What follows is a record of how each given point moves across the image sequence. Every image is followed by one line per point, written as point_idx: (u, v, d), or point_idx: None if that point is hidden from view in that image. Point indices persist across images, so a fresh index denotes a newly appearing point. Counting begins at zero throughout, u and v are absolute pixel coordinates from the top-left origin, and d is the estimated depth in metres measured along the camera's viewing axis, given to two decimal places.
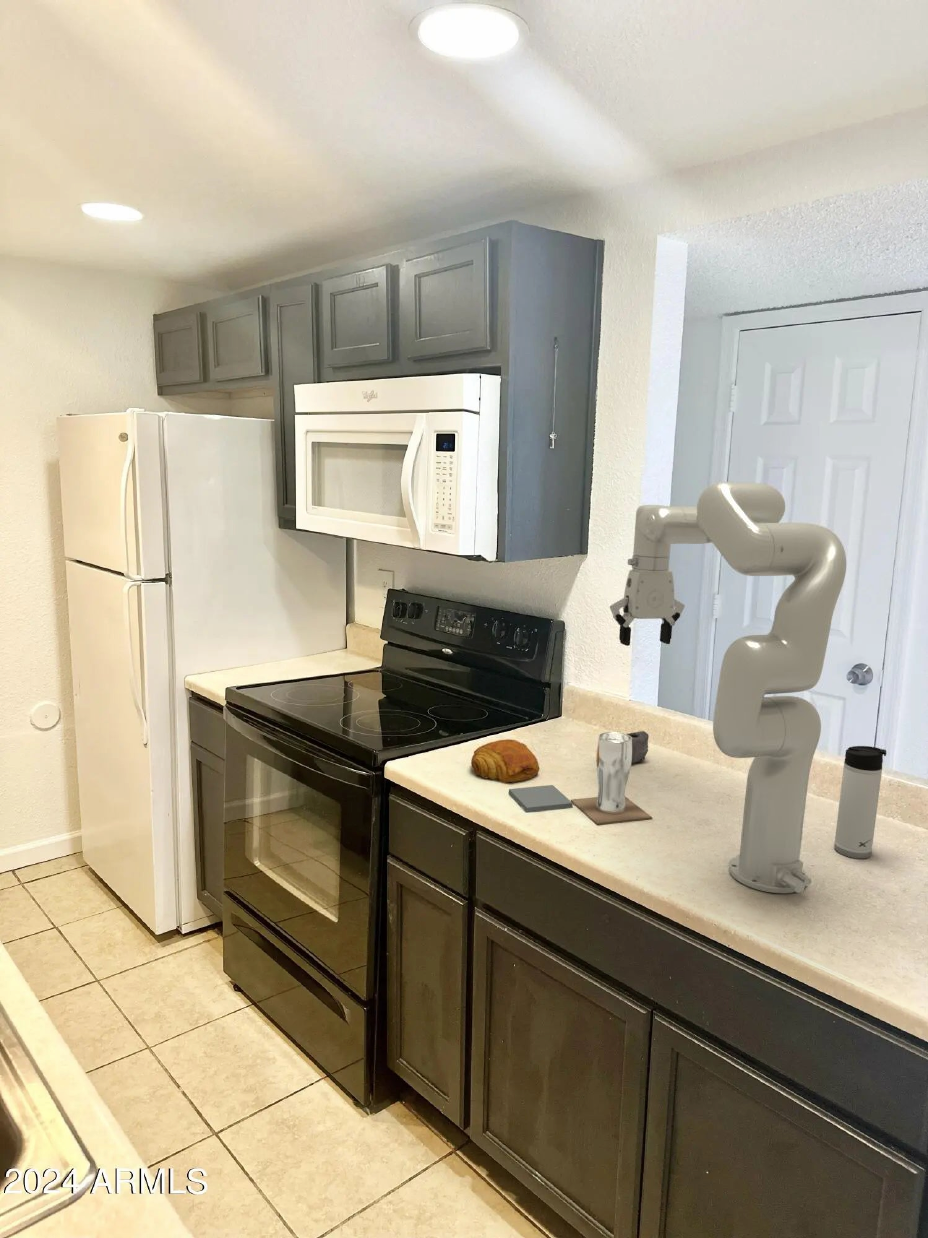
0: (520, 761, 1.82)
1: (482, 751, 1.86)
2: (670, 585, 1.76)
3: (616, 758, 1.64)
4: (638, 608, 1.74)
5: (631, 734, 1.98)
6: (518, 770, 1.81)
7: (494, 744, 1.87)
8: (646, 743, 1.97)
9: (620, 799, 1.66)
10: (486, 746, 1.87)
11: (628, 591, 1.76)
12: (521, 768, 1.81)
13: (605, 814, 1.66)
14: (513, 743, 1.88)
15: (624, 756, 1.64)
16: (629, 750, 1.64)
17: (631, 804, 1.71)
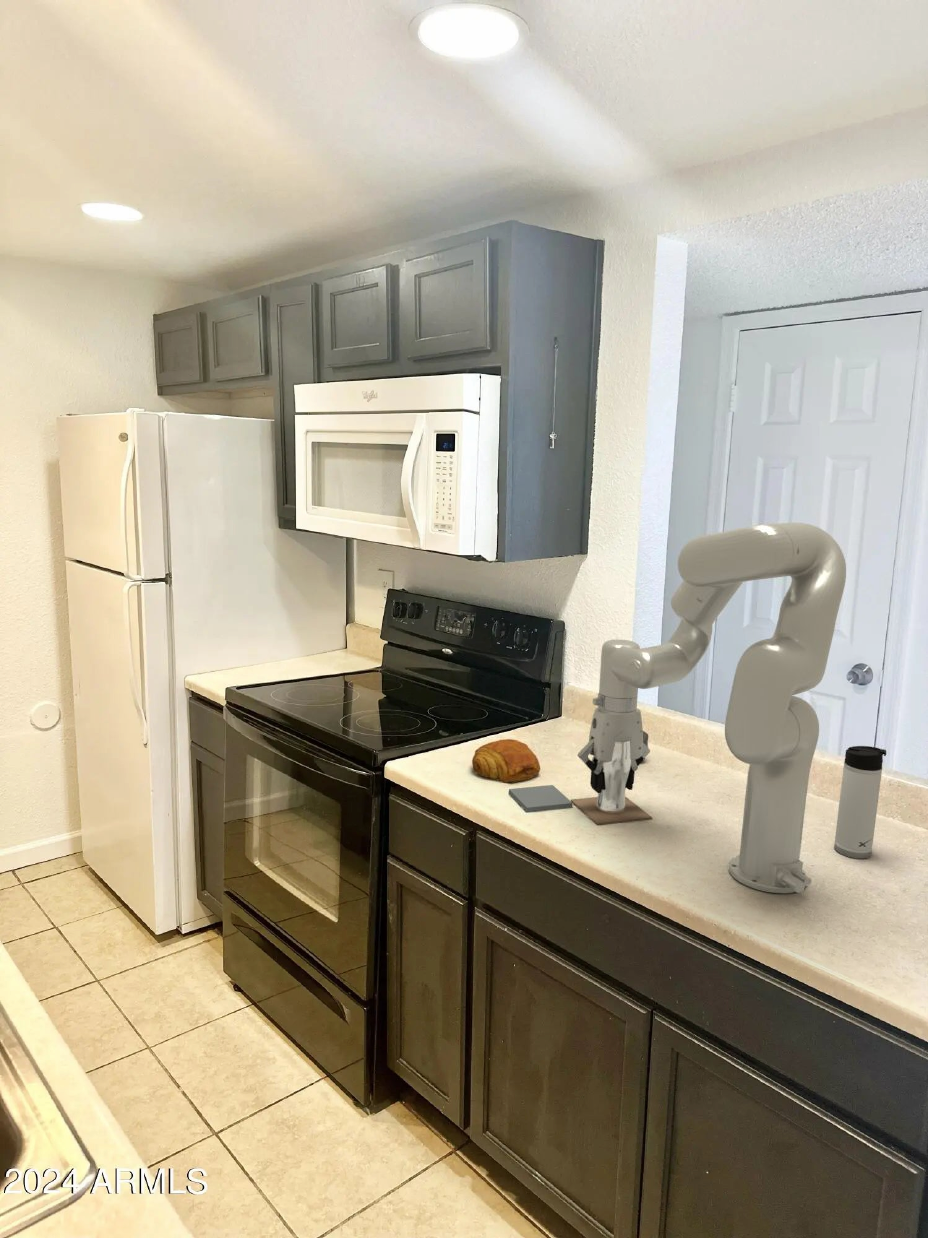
0: (521, 761, 1.82)
1: (483, 751, 1.87)
2: (638, 725, 1.64)
3: (616, 758, 1.64)
4: (604, 751, 1.63)
5: None
6: (519, 770, 1.81)
7: (495, 744, 1.87)
8: (646, 743, 1.97)
9: (620, 799, 1.66)
10: (487, 746, 1.87)
11: (593, 732, 1.64)
12: (522, 768, 1.82)
13: (605, 814, 1.66)
14: (514, 743, 1.88)
15: (624, 756, 1.64)
16: (629, 750, 1.64)
17: (631, 804, 1.71)
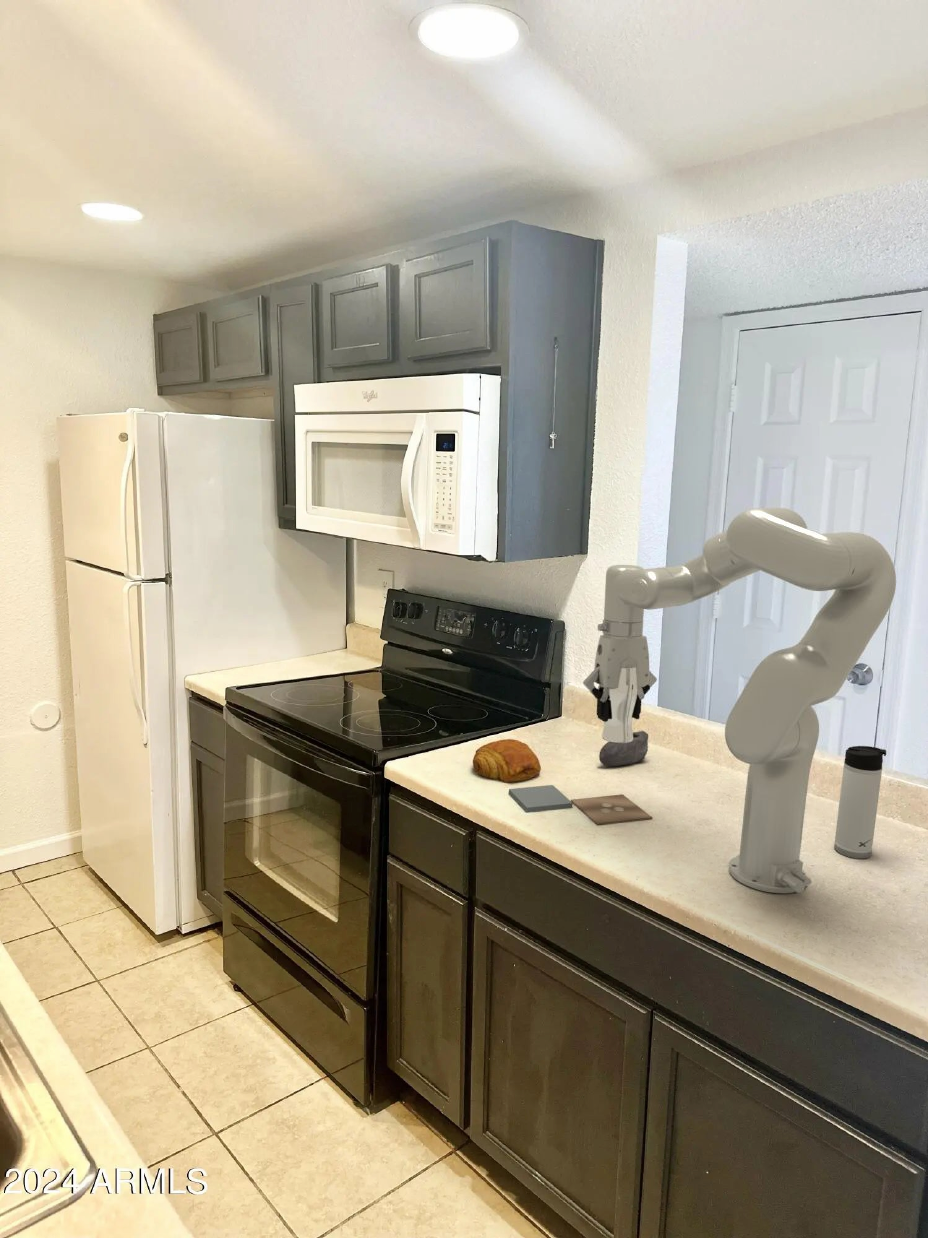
0: (521, 761, 1.83)
1: (483, 751, 1.87)
2: (644, 651, 1.61)
3: (622, 685, 1.61)
4: (610, 678, 1.60)
5: None
6: (519, 770, 1.81)
7: (495, 744, 1.87)
8: (646, 743, 1.97)
9: (627, 728, 1.63)
10: (487, 746, 1.87)
11: (599, 659, 1.61)
12: (522, 768, 1.82)
13: (605, 814, 1.66)
14: (515, 743, 1.88)
15: (631, 682, 1.61)
16: (636, 677, 1.62)
17: (631, 804, 1.71)
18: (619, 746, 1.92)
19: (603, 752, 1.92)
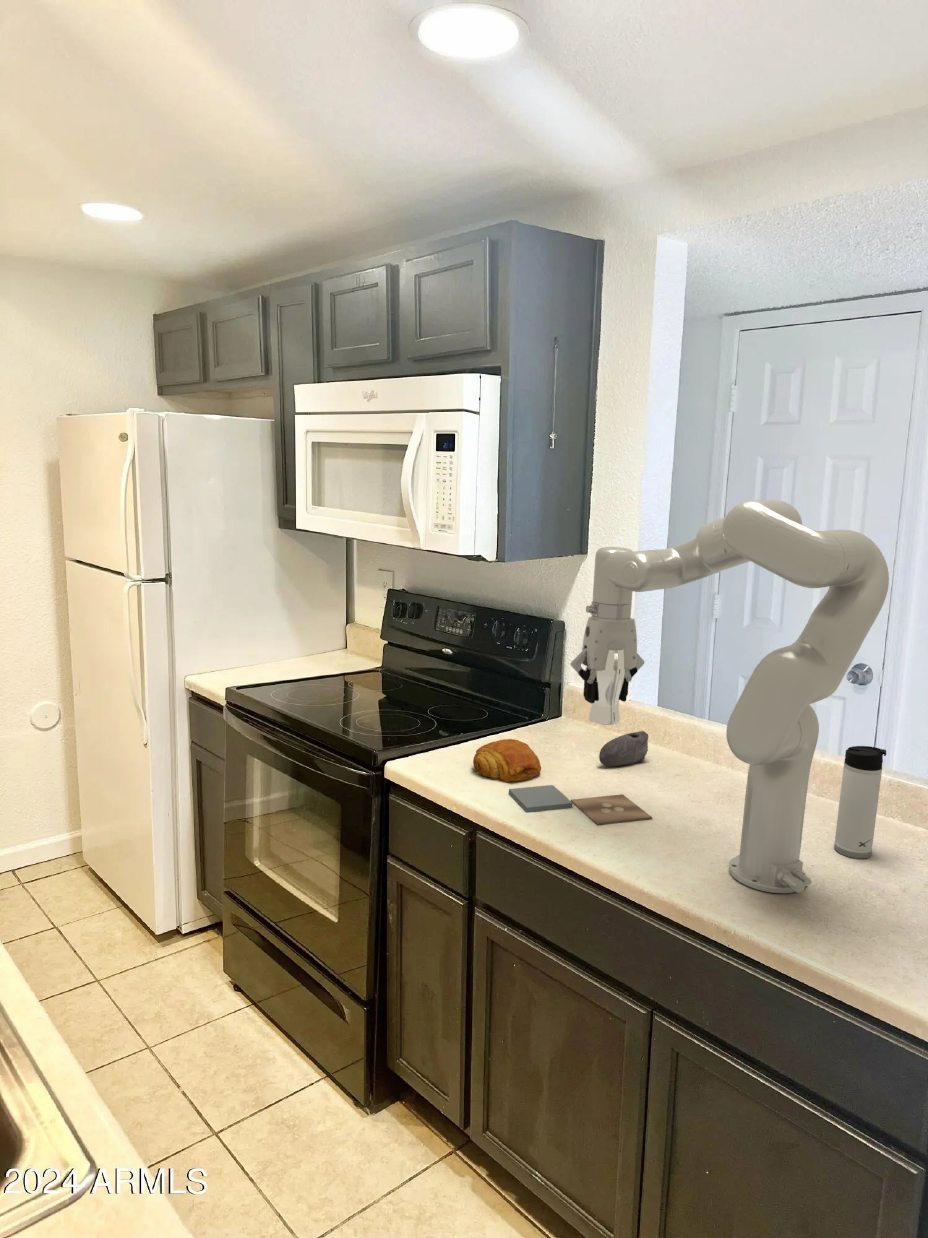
0: (522, 761, 1.83)
1: (484, 750, 1.87)
2: (632, 634, 1.62)
3: (609, 667, 1.61)
4: (597, 659, 1.60)
5: (631, 734, 1.98)
6: (519, 770, 1.81)
7: (496, 744, 1.87)
8: (646, 743, 1.97)
9: (613, 710, 1.64)
10: (488, 745, 1.87)
11: (586, 641, 1.62)
12: (522, 768, 1.82)
13: (605, 814, 1.66)
14: (515, 743, 1.88)
15: (618, 665, 1.61)
16: (623, 659, 1.62)
17: (631, 804, 1.71)
18: (619, 746, 1.92)
19: (603, 752, 1.92)
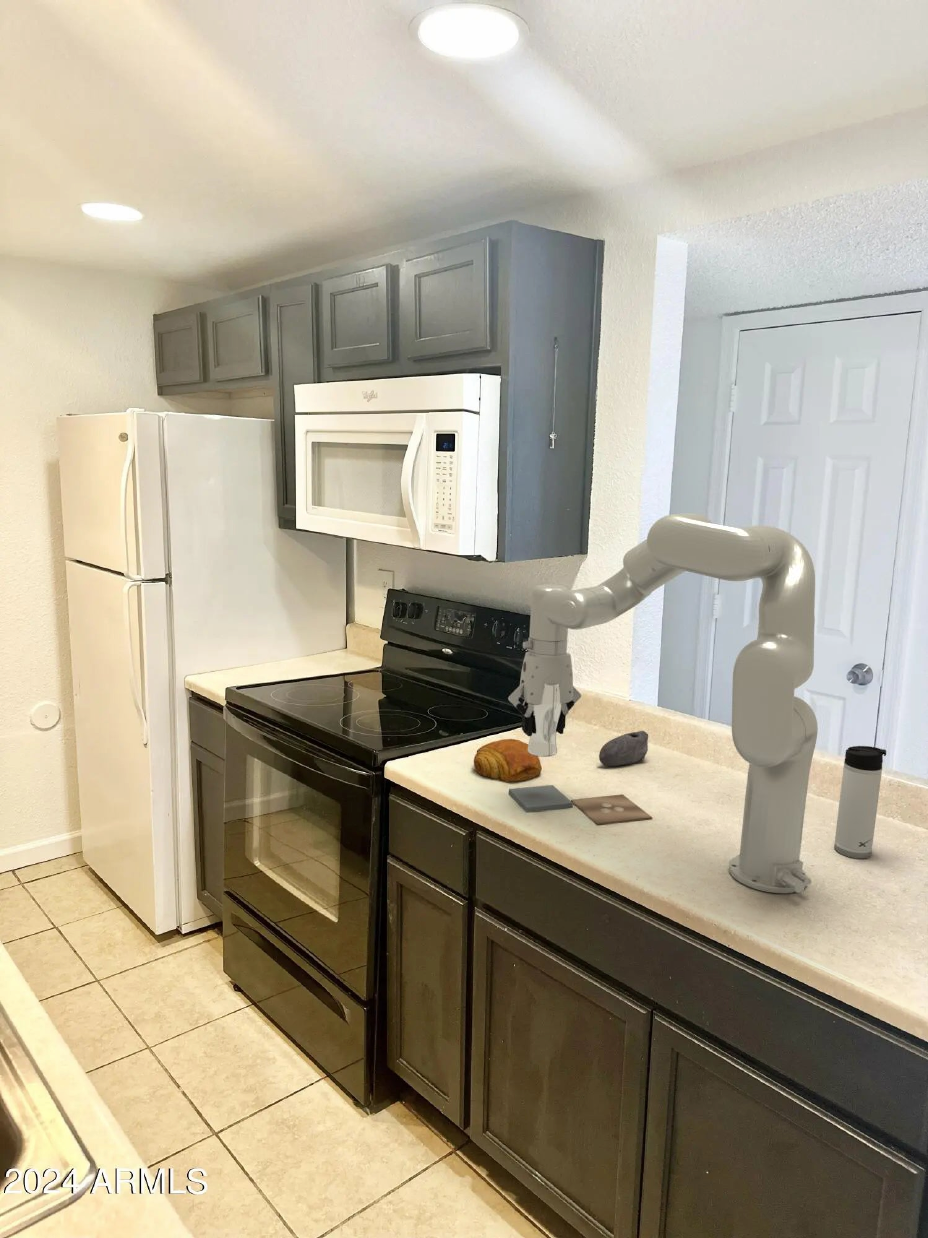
0: (522, 760, 1.83)
1: (484, 750, 1.87)
2: (568, 669, 1.66)
3: (545, 701, 1.66)
4: (533, 694, 1.65)
5: (631, 734, 1.97)
6: (520, 769, 1.81)
7: (497, 743, 1.87)
8: (646, 743, 1.97)
9: (550, 742, 1.68)
10: (488, 745, 1.87)
11: (523, 675, 1.66)
12: (523, 767, 1.82)
13: (605, 814, 1.66)
14: (516, 743, 1.88)
15: (554, 699, 1.66)
16: (559, 693, 1.66)
17: (631, 804, 1.71)
18: (619, 746, 1.92)
19: (603, 752, 1.92)
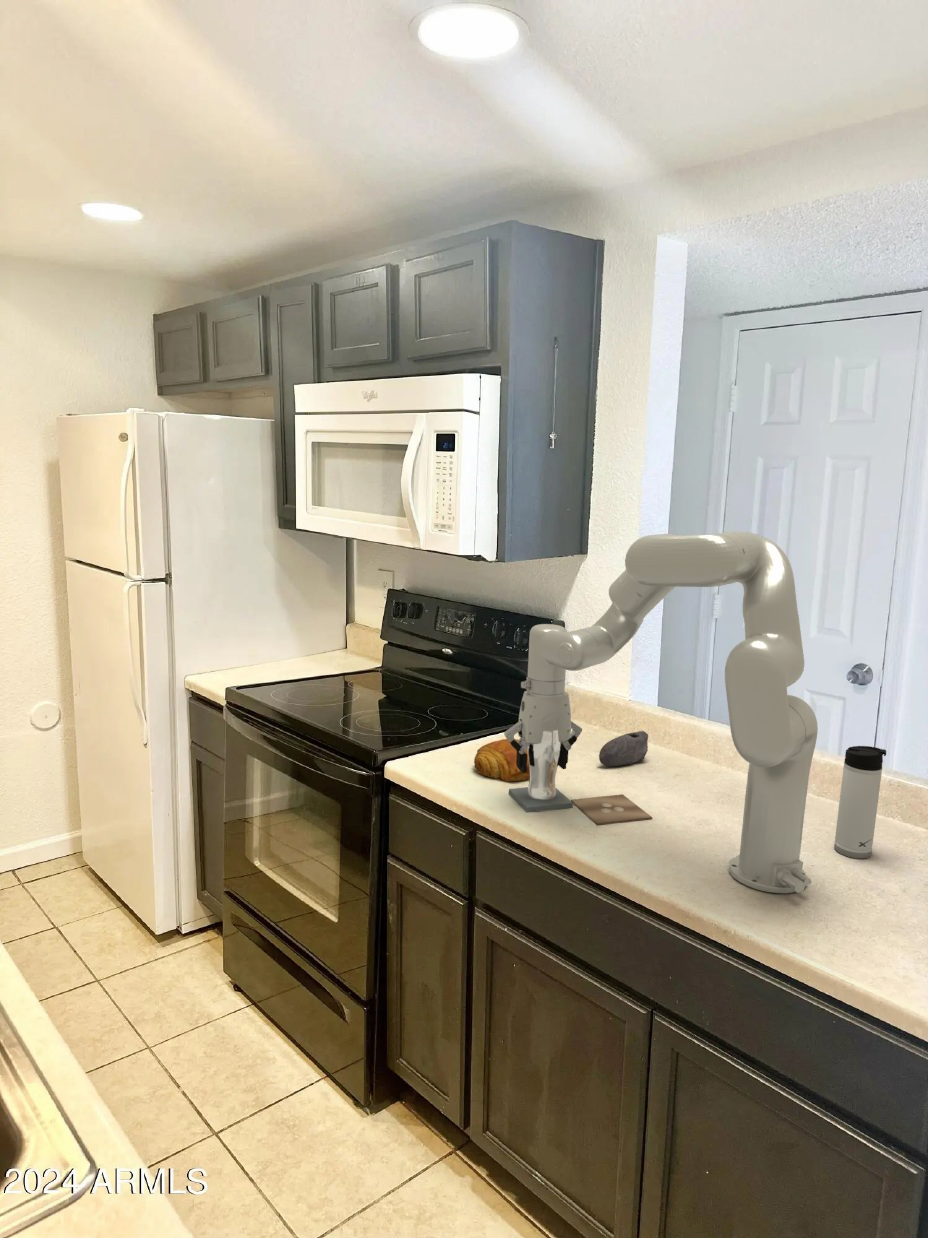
0: None
1: (485, 750, 1.87)
2: (566, 708, 1.68)
3: (544, 747, 1.67)
4: (531, 734, 1.66)
5: (631, 734, 1.97)
6: None
7: (497, 743, 1.87)
8: (646, 743, 1.97)
9: (550, 786, 1.70)
10: (489, 745, 1.87)
11: (522, 715, 1.68)
12: None
13: (605, 814, 1.66)
14: None
15: (552, 744, 1.67)
16: (557, 738, 1.68)
17: (631, 804, 1.71)
18: (619, 746, 1.92)
19: (603, 752, 1.92)
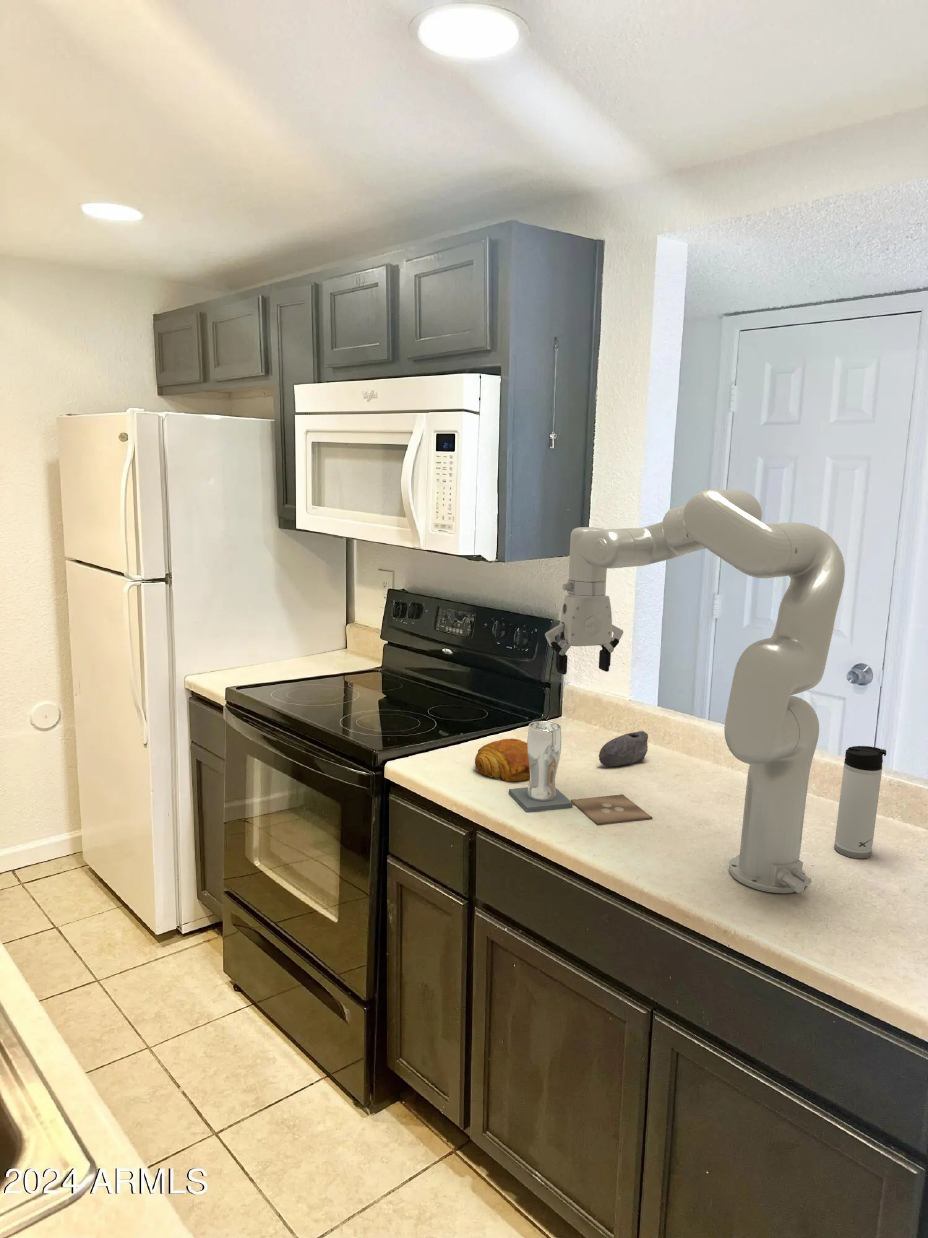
0: (523, 760, 1.83)
1: (486, 750, 1.87)
2: (607, 610, 1.68)
3: (544, 746, 1.67)
4: (574, 635, 1.67)
5: (630, 734, 1.97)
6: (521, 769, 1.82)
7: (498, 743, 1.88)
8: (645, 743, 1.97)
9: (550, 786, 1.70)
10: (490, 745, 1.87)
11: (564, 617, 1.68)
12: (524, 767, 1.82)
13: (605, 814, 1.66)
14: (517, 742, 1.88)
15: (553, 744, 1.67)
16: (558, 738, 1.68)
17: (631, 804, 1.71)
18: (618, 746, 1.92)
19: (603, 752, 1.92)
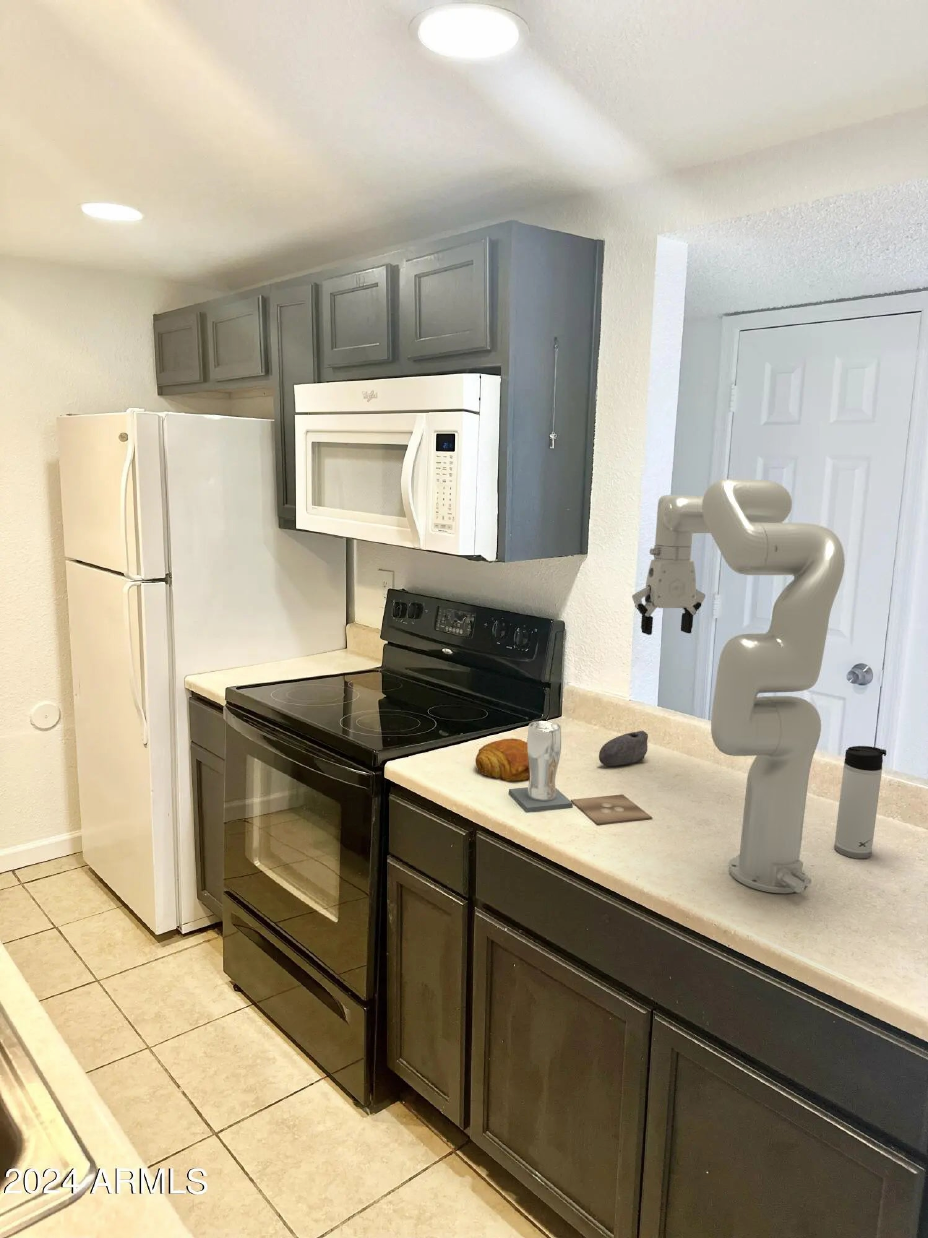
0: (524, 760, 1.83)
1: (486, 750, 1.87)
2: (692, 574, 1.77)
3: (544, 747, 1.67)
4: (660, 597, 1.76)
5: (630, 734, 1.98)
6: (521, 769, 1.82)
7: (498, 743, 1.88)
8: (645, 743, 1.97)
9: (550, 787, 1.70)
10: (490, 745, 1.88)
11: (650, 580, 1.77)
12: (524, 767, 1.82)
13: (605, 814, 1.66)
14: (517, 742, 1.88)
15: (552, 744, 1.67)
16: (558, 738, 1.68)
17: (631, 804, 1.71)
18: (618, 746, 1.92)
19: (602, 752, 1.92)
